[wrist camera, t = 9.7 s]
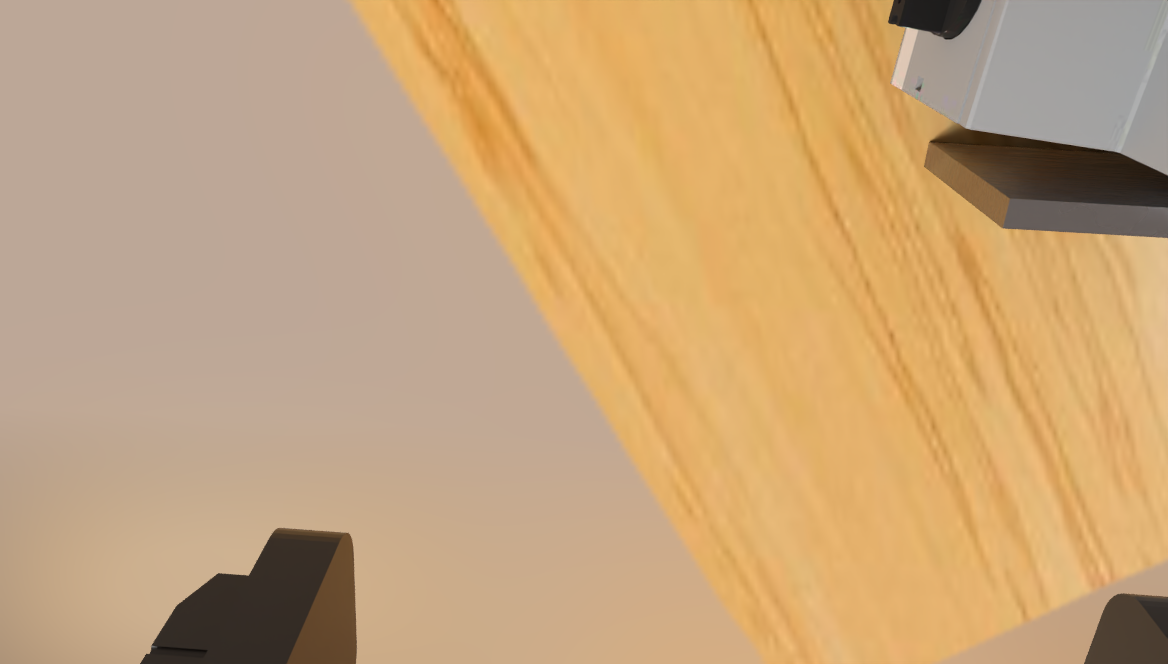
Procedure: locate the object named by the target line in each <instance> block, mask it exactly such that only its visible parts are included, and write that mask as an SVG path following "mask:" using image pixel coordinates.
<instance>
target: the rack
mask: <svg viewBox="0 0 1168 664" xmlns="http://www.w3.org/2000/svg"><path fill="white" fill-rule="evenodd" d="M924 167H925V168H927V169H928V170H929V171H930V172H932V173H933V174H934V175H936V176H937V177H938V178H939V179H941V180H942V181H943V182H944V183H946V184H947V185H948V186H950V187H951V188H952V189H953V190H955V191H956V192H957V193H958V194H960V195H961V196H962V197H963V198H965V199H966V200H967V201H969V202H970V203H971V204H972V205H974V206H975V207H976V208H977V209H979V210H980V211H981V212H983V213H984V214H985V215H986V216H988V217H989V218H990V219H991V220H993V221H994V222H995V223H997V224H998V225H999V226H1000V227H1002V228H1006V229H1024V230H1041V231H1058V232H1076V233H1093V234H1110V235H1127V236H1145V237H1162V238H1168V175H1166V174H1164V173H1162V172H1160V171H1158V170H1155V169H1153V168H1151V167H1149V166H1147V165H1145V164H1143V163H1140V162H1138V161H1136V160H1134V159H1132V158H1130V157H1128V156H1126V155H1123V154H1121V153H1107V152H1090V151H1073V150H1057V149H1040V148H1023V147H1006V146H990V145H973V144H956V143H939V142H929V146H928V151H927V155H926V160H925V165H924Z"/></svg>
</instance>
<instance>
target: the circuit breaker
mask: <svg viewBox="0 0 1168 664" xmlns="http://www.w3.org/2000/svg"><path fill="white" fill-rule="evenodd" d="M888 22H889V24H897V26H900V27H906V28H905V32H904V35H903V39H902V43H901V46H900V50H899V54H898V57H897V61H896V64H895V68H894V72H893V75H892V79H891V84H892V85H894V86H896V87H897V88H899V89H901V90H902V91H904V92H906V93H907V94H909V95H911V96H912V97H914V98H916V99H917V100H919V101H921V102H922V103H924V104H926V105H927V106H929V107H931V108H932V109H934V110H936V111H937V112H939V113H941V114H942V115H944V116H946V117H947V118H949V119H951V120H952V121H954V122H956V123H958V124H960V125H961V126H963V127H964V128H966V129H970V130H977V131H983V132H990V133H996V134H1003V135H1009V136H1016V137H1023V138H1029V139H1036V140H1042V141H1049V142H1055V143H1062V144H1068V145H1075V146H1081V147H1088V148H1094V149H1101V150H1107V151H1114V152H1118V153H1121V154H1123V155H1126V156H1128V157H1130V158H1132V159H1134V160H1136V161H1138V162H1140V163H1143V164H1145V165H1147V166H1149V167H1151V168H1153V169H1155V170H1158V171H1160V172H1162V173H1164V174H1166V175H1168V0H894V2H893V6H892V9H891V13H890V17H889V21H888Z"/></svg>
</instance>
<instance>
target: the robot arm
mask: <svg viewBox="0 0 1168 664" xmlns="http://www.w3.org/2000/svg"><path fill="white" fill-rule="evenodd" d="M354 584H355V582H354V553H353V543H352V539H351V536H350V534H349V533H340V532H327V531H312V530H300V529H286V528H278V529H276V530H275V531H274V532H273V534H272V535H271V536H270V538H269V540H268V542H267V544H266V545H265V547H264V549H263V551H262V553H261V554H260V556H259V558H258V560H257V562H256V564H255V565H254V568H253V569H252V571H251V573H250V575H249V576H246V575H233V574H220V573H218V574H217V575H216V576H214V577H213V578H212V579H210V580H209V581H208V582H207V583H205V584H204V585H203V586H201V587H200V588H199V589H198V590H196V591H195V592H194V593H192V594H191V595H190V596H189V597H187V598H186V599H185V600H183V602H181V603H180V604H178V605H177V606H176V608H175V609H174V611H173V612H172V614H171V616H170V617H169V619H168V620H167V622H166V623H165V625H164V627H163V628H162V630H161V631H160V633H159V635H158V636H157V638H156V639H155V641H154V643H153V644H152V647H151V652H150V654H146V655H145V657H144V658H143V660H142V662H141V663H140V664H356V653H357V645H356V644H357V640H356V613H355V612H356V611H355V585H354ZM1084 664H1168V597H1162V596H1148V595H1135V594H1117V595H1116V596H1114V597H1113V598H1111V599H1110V600H1109V602H1108V603H1107V605H1106V607H1105V609H1104V611H1103V613H1102V616H1101V619H1100V622H1099V624H1098V627H1097V630H1096V633H1095V635H1094V638H1093V641H1092V644H1091V646H1090V649H1089V652H1088V655H1087V657H1086V660H1085V663H1084Z"/></svg>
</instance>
